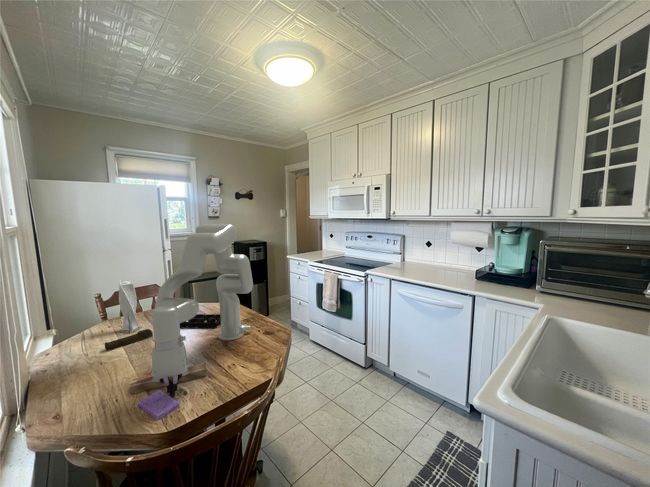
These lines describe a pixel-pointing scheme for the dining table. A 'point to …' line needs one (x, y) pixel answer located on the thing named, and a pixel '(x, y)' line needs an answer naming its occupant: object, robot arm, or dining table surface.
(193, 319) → the black openwork frame
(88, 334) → the dining table surface
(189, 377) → the walnut board
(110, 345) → the hand tool
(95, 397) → the dining table surface
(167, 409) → the sponges
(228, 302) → the robot arm
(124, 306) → the skyscraper
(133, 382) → the carpenters pencil
